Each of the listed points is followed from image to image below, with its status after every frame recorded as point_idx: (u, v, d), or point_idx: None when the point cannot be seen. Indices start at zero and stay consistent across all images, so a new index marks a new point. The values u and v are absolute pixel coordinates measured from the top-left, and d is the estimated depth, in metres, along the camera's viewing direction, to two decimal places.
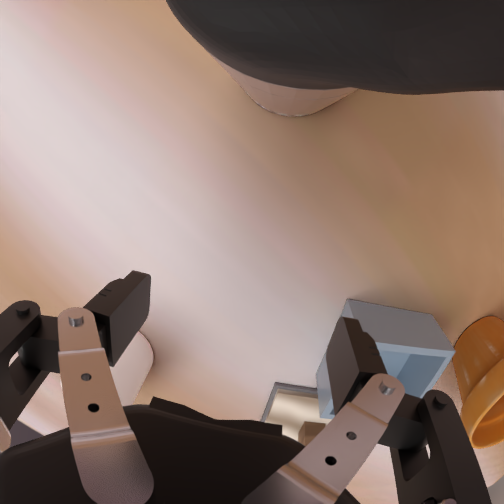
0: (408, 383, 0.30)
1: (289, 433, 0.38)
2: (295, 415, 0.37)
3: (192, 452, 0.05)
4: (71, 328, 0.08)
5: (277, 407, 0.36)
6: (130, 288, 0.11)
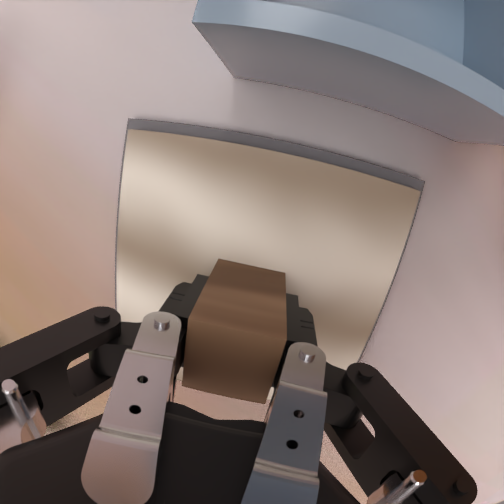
0: (495, 59, 0.07)
1: None
2: (187, 228, 0.13)
3: (192, 452, 0.05)
4: (161, 333, 0.09)
5: (132, 193, 0.13)
6: None
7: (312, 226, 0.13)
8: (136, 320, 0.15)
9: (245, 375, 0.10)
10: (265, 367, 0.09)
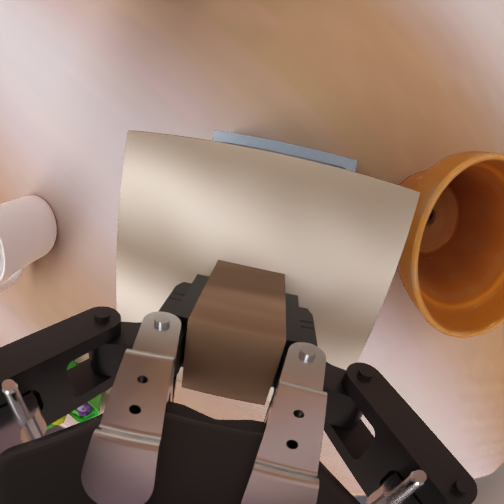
0: None
1: None
2: (187, 229, 0.13)
3: (192, 452, 0.05)
4: (161, 333, 0.09)
5: (132, 194, 0.13)
6: None
7: (311, 227, 0.13)
8: (136, 321, 0.15)
9: (245, 376, 0.10)
10: (264, 368, 0.09)
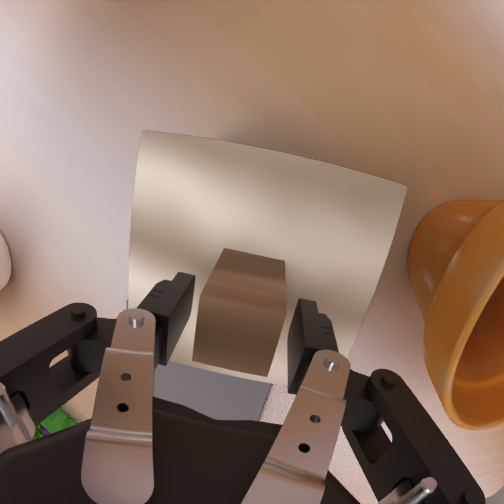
0: None
1: (193, 303, 0.16)
2: (196, 220, 0.15)
3: (192, 452, 0.05)
4: (134, 329, 0.08)
5: (145, 188, 0.14)
6: (181, 289, 0.11)
7: (309, 218, 0.14)
8: None
9: (250, 349, 0.11)
10: (267, 340, 0.11)
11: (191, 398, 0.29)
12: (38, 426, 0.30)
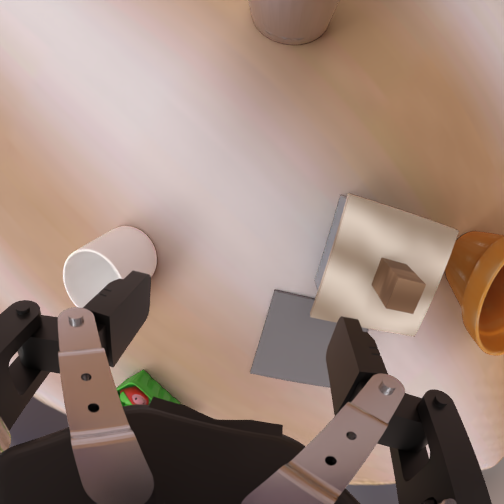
0: None
1: (359, 286, 0.30)
2: (371, 243, 0.28)
3: (192, 452, 0.05)
4: (71, 328, 0.08)
5: (347, 225, 0.28)
6: (130, 288, 0.11)
7: (419, 244, 0.28)
8: (332, 289, 0.30)
9: (410, 300, 0.25)
10: (417, 296, 0.24)
11: (303, 362, 0.42)
12: None
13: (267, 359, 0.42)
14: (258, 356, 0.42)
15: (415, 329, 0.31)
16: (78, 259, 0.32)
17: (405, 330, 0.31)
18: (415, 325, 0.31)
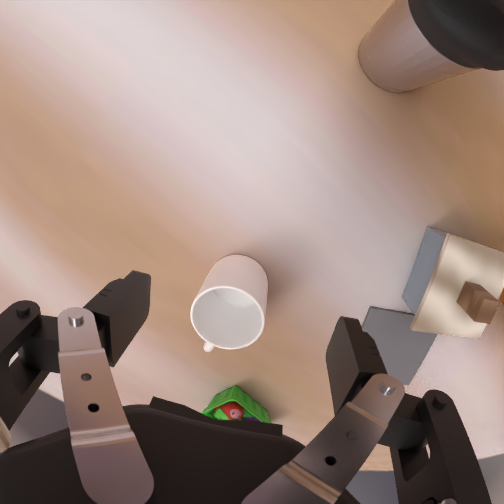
0: None
1: (448, 303, 0.33)
2: (459, 270, 0.32)
3: (192, 452, 0.05)
4: (71, 328, 0.08)
5: (446, 258, 0.31)
6: (130, 288, 0.11)
7: (489, 269, 0.31)
8: (430, 307, 0.34)
9: (489, 314, 0.28)
10: (493, 311, 0.28)
11: None
12: (239, 419, 0.47)
13: None
14: None
15: (480, 333, 0.34)
16: None
17: (473, 334, 0.35)
18: (480, 330, 0.34)
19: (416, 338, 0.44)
